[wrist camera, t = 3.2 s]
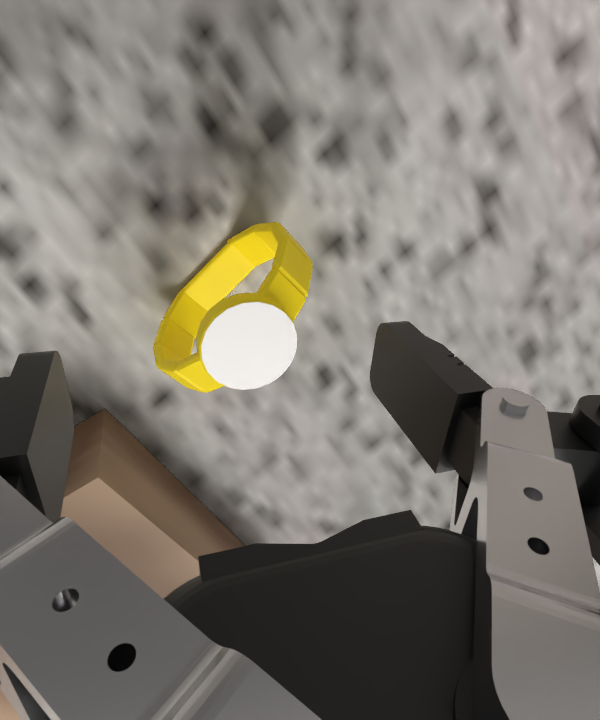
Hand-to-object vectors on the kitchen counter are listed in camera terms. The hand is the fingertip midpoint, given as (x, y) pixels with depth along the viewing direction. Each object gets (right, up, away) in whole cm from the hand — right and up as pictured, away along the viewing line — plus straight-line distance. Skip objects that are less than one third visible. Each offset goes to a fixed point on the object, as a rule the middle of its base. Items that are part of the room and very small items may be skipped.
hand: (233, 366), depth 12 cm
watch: (-1, +3, +6) cm, 7 cm away
